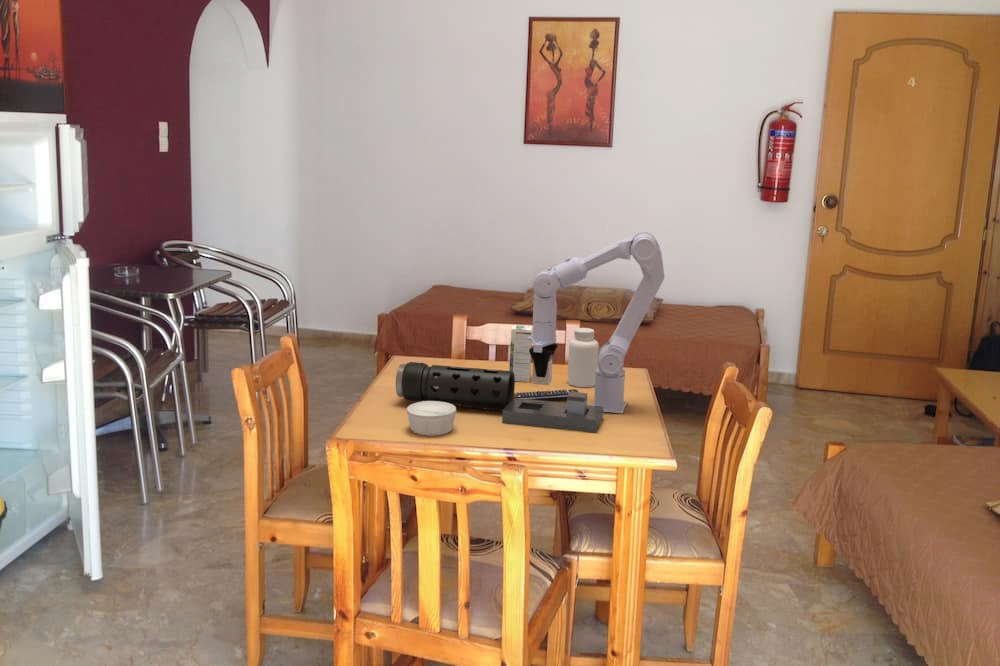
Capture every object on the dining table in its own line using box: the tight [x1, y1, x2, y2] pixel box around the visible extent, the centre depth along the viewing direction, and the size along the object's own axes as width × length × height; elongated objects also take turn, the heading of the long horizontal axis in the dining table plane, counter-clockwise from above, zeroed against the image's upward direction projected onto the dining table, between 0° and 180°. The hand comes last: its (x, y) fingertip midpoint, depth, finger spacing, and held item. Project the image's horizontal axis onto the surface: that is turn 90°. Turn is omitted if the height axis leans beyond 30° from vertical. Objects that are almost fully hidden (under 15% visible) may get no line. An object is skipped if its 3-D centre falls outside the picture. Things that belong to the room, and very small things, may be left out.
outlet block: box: [501, 397, 604, 434], centre depth 223 cm, size 11×22×3 cm, turn 76°
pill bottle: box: [567, 327, 600, 388], centre depth 254 cm, size 8×8×15 cm
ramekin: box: [406, 401, 457, 437], centre depth 214 cm, size 11×11×5 cm
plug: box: [532, 354, 554, 386], centre depth 234 cm, size 4×4×7 cm
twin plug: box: [566, 391, 588, 415], centre depth 221 cm, size 4×4×7 cm
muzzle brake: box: [395, 361, 516, 411], centre depth 232 cm, size 10×28×10 cm, turn 78°
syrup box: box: [508, 324, 533, 383], centre depth 257 cm, size 6×6×14 cm
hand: (542, 374), depth 235 cm, fingers closed on plug, 4 cm apart
